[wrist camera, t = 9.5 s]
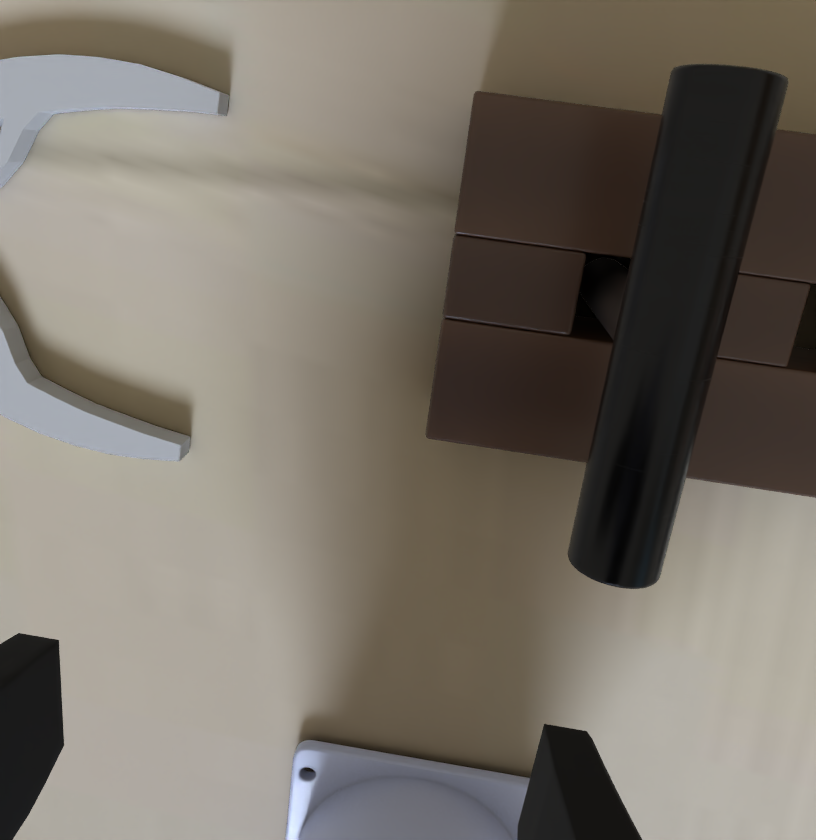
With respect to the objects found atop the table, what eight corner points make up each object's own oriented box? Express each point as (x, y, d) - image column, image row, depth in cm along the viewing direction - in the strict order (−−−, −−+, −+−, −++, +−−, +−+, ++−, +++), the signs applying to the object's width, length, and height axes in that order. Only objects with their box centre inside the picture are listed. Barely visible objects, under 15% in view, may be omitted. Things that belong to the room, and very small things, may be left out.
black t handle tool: (601, 437, 20) (668, 597, 13) (540, 428, 21) (571, 581, 13) (672, 113, 18) (808, 73, 10) (602, 104, 18) (686, 58, 10)
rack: (1082, 499, 20) (1182, 554, 17) (433, 401, 21) (425, 439, 18) (1214, 197, 17) (1357, 203, 15) (476, 102, 18) (474, 90, 15)
